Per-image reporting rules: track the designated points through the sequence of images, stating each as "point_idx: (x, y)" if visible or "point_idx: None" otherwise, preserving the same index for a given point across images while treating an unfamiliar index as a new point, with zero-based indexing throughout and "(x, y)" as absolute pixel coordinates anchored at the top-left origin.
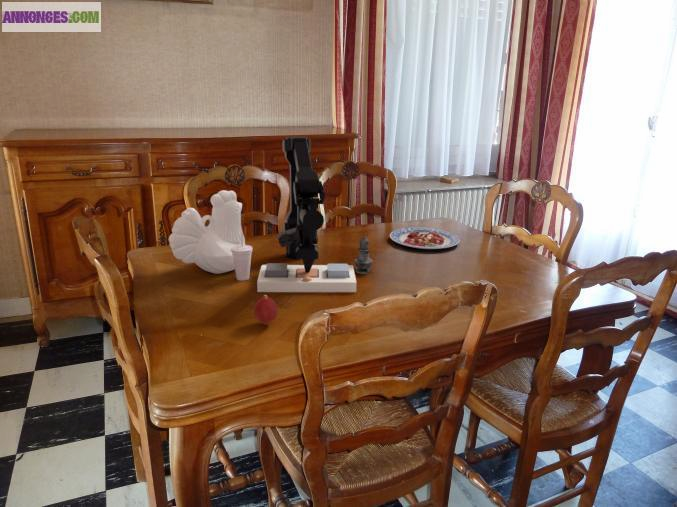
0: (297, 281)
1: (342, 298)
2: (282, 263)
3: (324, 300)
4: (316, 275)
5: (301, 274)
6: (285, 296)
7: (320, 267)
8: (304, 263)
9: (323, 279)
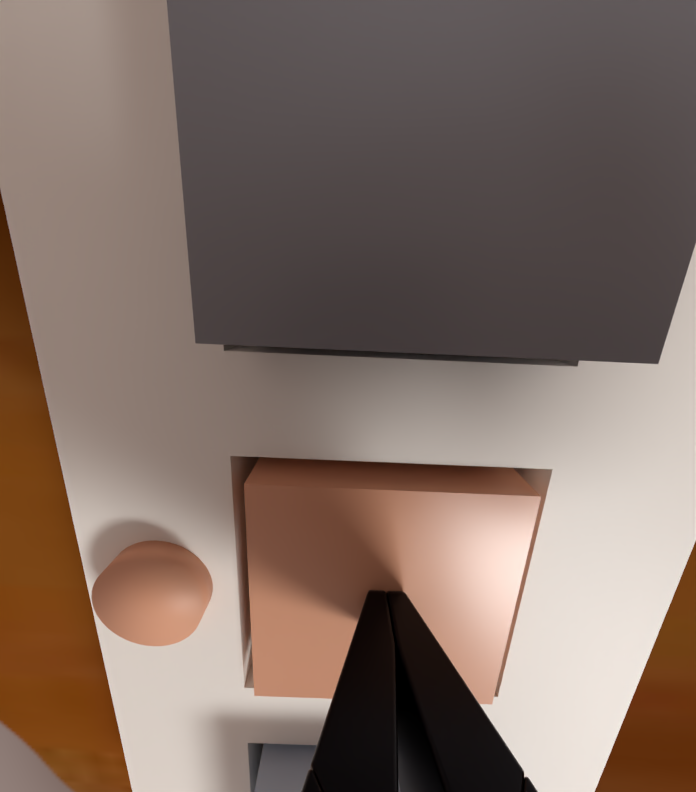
0: (89, 479)
1: (81, 708)
2: (684, 243)
3: (19, 612)
4: (262, 687)
5: (293, 541)
6: (25, 311)
7: (551, 713)
8: (309, 776)
9: (194, 719)
